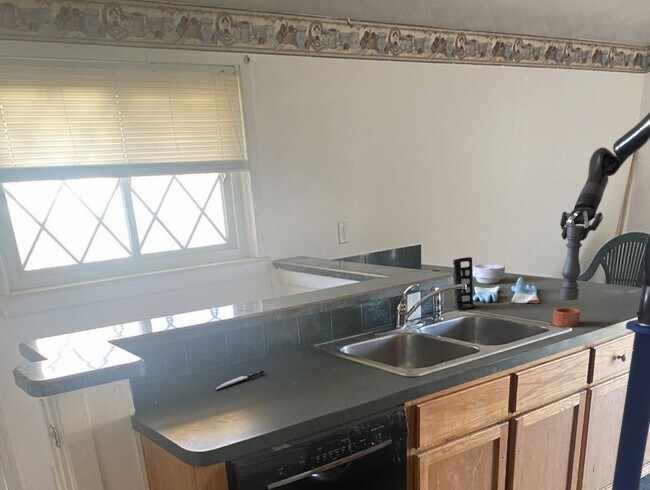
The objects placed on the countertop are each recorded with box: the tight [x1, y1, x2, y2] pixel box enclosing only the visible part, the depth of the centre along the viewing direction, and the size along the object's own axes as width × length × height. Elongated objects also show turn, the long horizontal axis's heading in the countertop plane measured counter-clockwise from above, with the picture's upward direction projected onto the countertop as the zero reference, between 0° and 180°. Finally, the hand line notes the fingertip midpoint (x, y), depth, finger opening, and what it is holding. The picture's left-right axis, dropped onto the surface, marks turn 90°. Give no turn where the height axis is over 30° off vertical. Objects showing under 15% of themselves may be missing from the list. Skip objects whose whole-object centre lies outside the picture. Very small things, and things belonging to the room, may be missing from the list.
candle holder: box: [559, 225, 585, 301], centre depth 231 cm, size 6×6×25 cm
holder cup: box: [552, 307, 581, 328], centre depth 238 cm, size 9×9×5 cm
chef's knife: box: [215, 369, 265, 390], centre depth 194 cm, size 19×1×3 cm
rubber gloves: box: [473, 277, 540, 304], centre depth 287 cm, size 27×33×6 cm
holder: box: [452, 256, 475, 311], centre depth 267 cm, size 11×8×20 cm
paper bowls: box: [472, 263, 506, 285], centre depth 317 cm, size 15×15×8 cm
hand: (572, 238), depth 226 cm, fingers closed on candle holder, 5 cm apart
